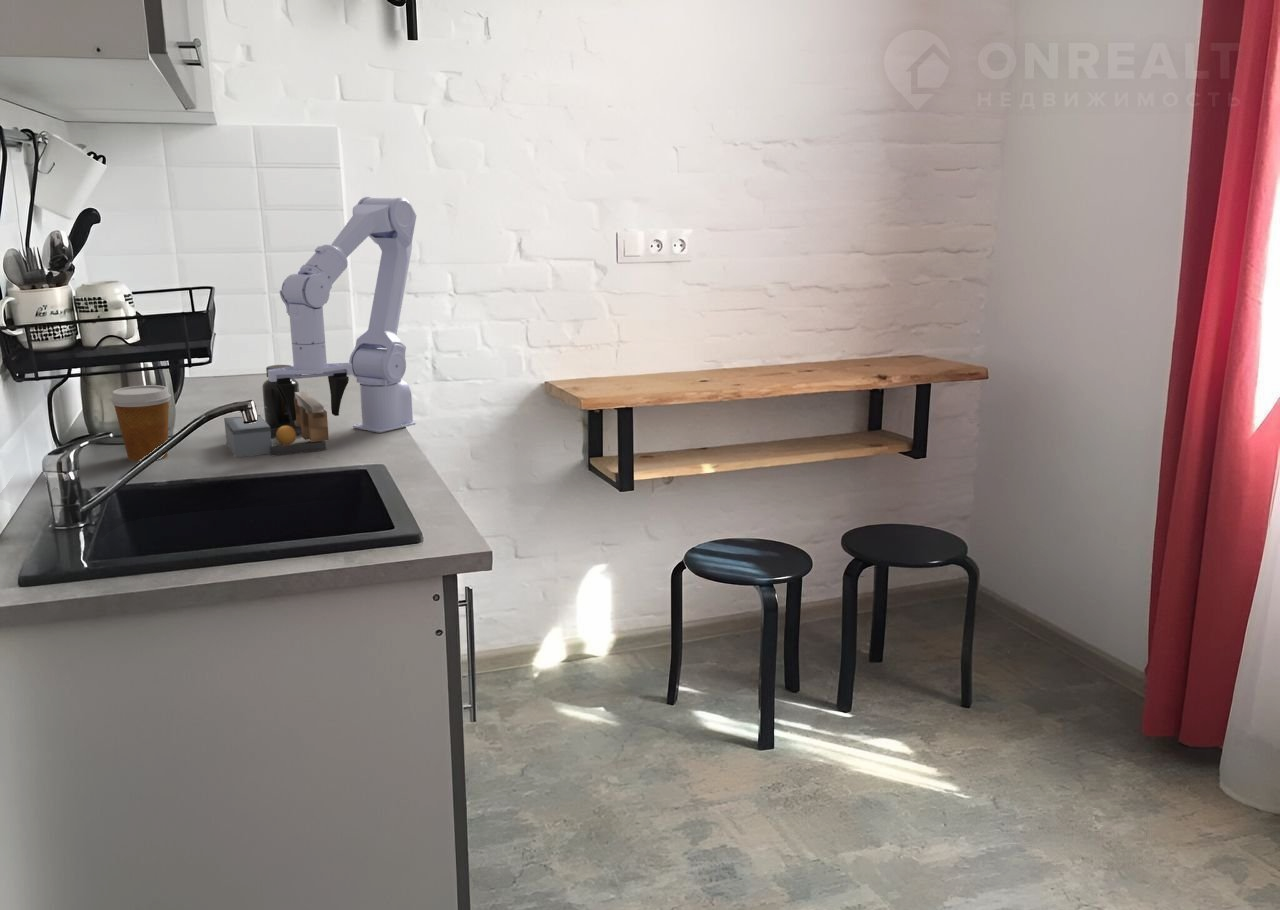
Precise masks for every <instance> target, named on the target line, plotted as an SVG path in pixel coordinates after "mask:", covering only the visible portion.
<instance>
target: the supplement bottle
mask: <svg viewBox="0 0 1280 910" xmlns="http://www.w3.org/2000/svg"><path fill="white" fill-rule="evenodd" d="M291 366H292V365H290V364H274V365H268V366H267V367H265V369H266V378H268V370H270V369H278V368H285V367H291ZM290 381H292V384H293V385H294V398H295V392H300V384H299V382H298V380H297V379H290ZM261 390H262V399H263V401H262V402H263V411H264V413H263V414H264V420H265V422H266V423H267V424H268V425H269V426H270V429H275V428H280V427H282V426H290V427H295V426H296V425H295V422H294V421H292V420H290V419H289V415H288V411H287V408H286V405H285V403H284V400H283V398H282V396H281V394H280V392H279V391H278V389H277V387H276V386H275V384H274V382H270V381H269V380H268V379H267V380H265V381H264V382H263V383H262V389H261Z"/></svg>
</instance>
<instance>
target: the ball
mask: <svg viewBox="0 0 1280 910" xmlns="http://www.w3.org/2000/svg"><path fill="white" fill-rule="evenodd" d="M296 438H297V435H296V432H295V430H294V429H293V428H292V427H290V426H282V427H280V428H279V429H278V430H277V432H276V440H277V441H278V442H279V443H280V445H286V444H294V442H295V440H296Z"/></svg>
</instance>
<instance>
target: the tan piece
mask: <svg viewBox="0 0 1280 910" xmlns="http://www.w3.org/2000/svg"><path fill="white" fill-rule="evenodd" d="M294 404H295V411H296V420H294V422H295V425H296V426H301V434H302V435H301V438H303V440H304V441H309V442H316V441H326V442H327V441H329V440H330V438H329V425H328V424H329V423H328V411H327V410H326V409H324V405H323V404H321V403H320V402H319V401H318V400H317V399H315V398H314V397H313V396H312V395H311V394H309V393H308V392H307V391H299V392H295V398H294Z"/></svg>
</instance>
